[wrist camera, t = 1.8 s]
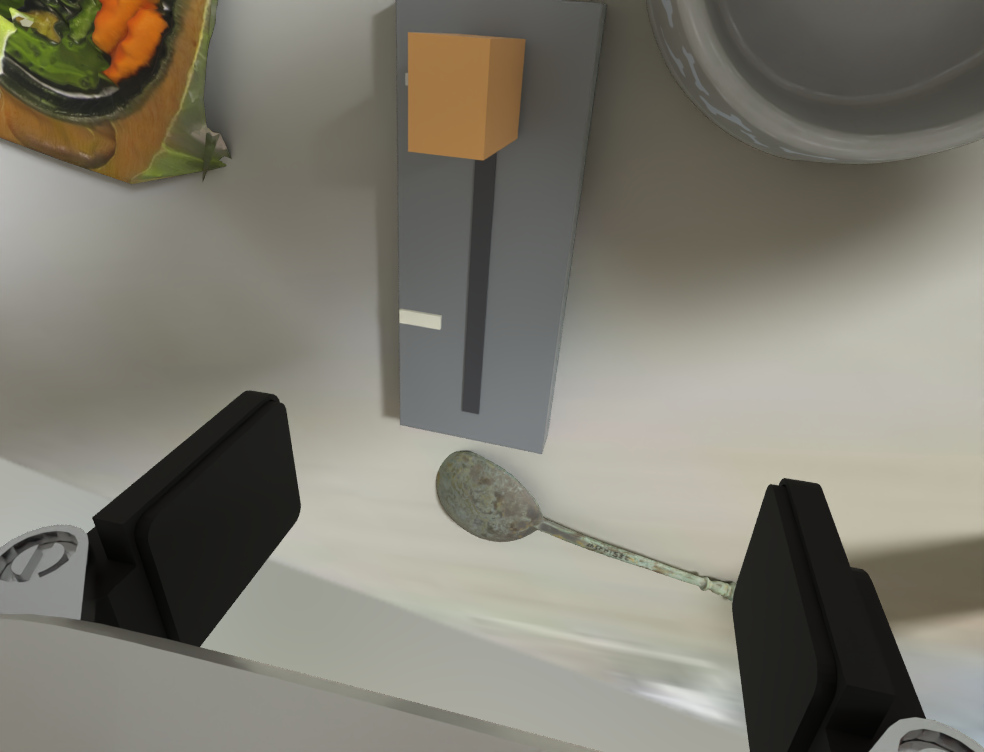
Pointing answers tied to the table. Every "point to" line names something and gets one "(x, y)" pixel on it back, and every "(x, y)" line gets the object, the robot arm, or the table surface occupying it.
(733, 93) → the dog bowl
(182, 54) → the prepared meal
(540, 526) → the soupspoon
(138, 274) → the table surface
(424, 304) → the fader console
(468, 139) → the fader knob
